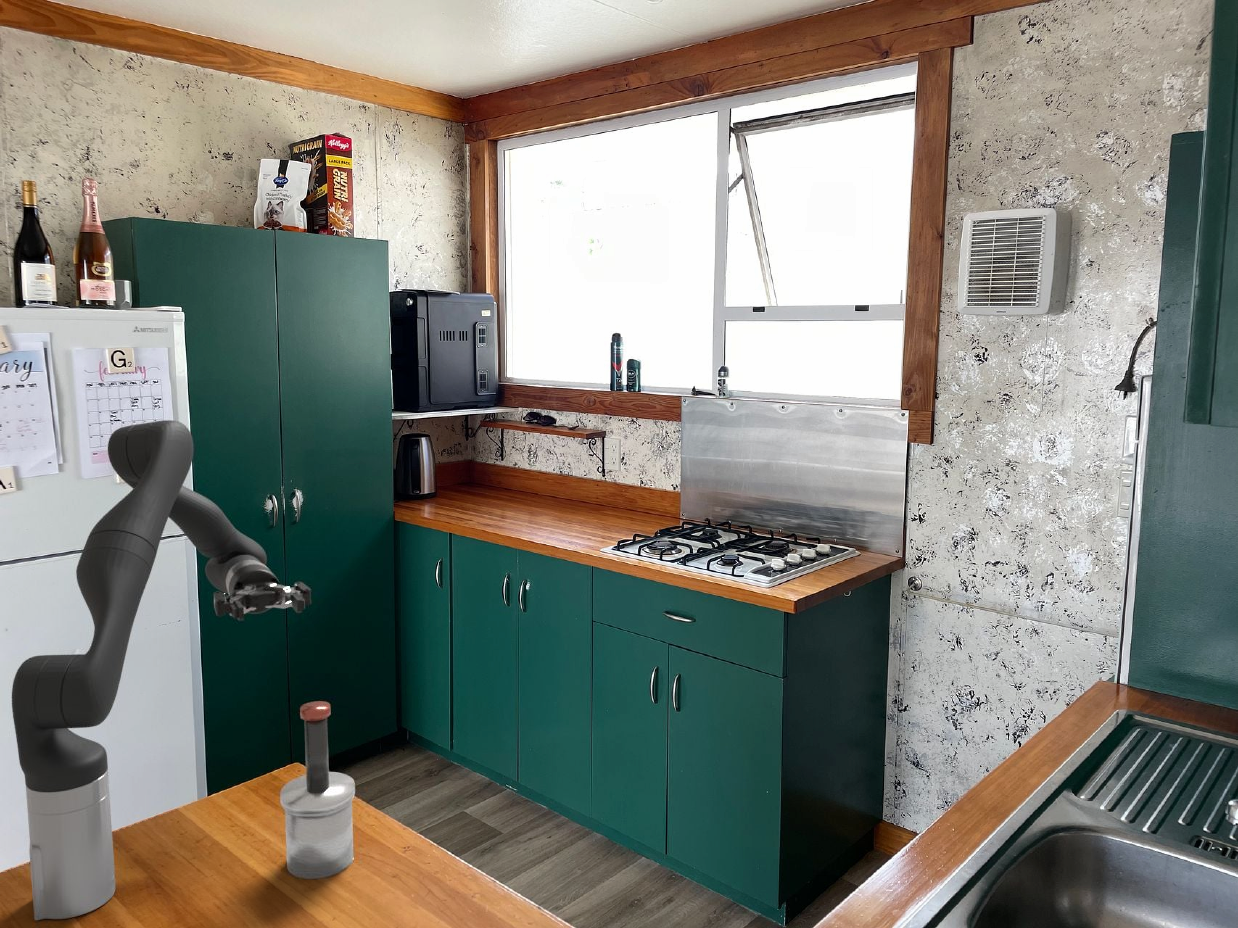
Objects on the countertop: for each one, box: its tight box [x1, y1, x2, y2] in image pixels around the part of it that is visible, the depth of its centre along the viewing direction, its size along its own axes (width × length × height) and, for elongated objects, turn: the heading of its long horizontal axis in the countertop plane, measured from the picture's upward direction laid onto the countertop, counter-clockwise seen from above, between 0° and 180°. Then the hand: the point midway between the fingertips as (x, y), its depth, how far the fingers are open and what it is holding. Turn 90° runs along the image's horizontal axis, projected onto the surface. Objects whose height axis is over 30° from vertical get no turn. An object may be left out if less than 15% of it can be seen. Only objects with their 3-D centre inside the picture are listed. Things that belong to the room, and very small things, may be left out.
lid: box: [279, 700, 356, 814], centre depth 130 cm, size 10×10×13 cm
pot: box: [283, 798, 354, 880], centre depth 132 cm, size 9×9×10 cm
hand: (271, 610), depth 143 cm, fingers open, 8 cm apart
